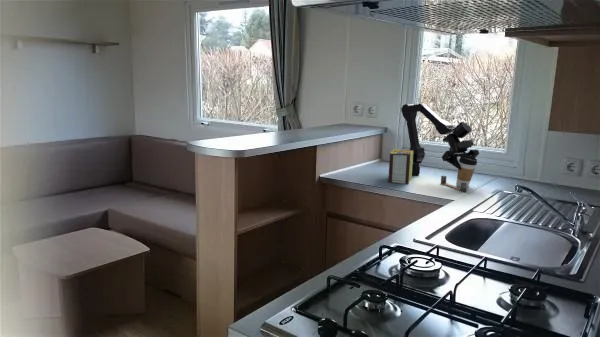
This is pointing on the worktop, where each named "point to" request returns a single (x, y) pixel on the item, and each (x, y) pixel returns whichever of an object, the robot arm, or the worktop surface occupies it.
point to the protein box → (400, 166)
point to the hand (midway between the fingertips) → (467, 169)
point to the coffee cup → (466, 170)
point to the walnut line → (443, 181)
